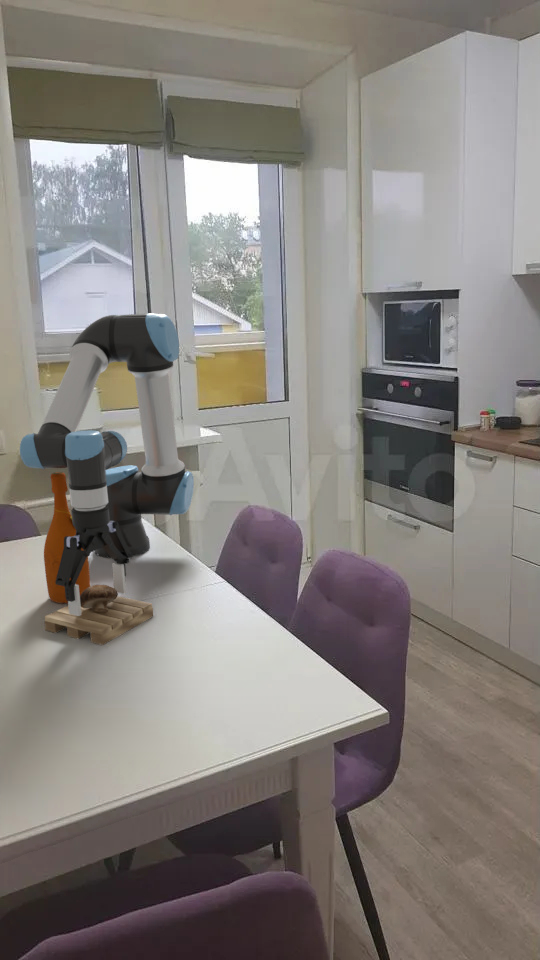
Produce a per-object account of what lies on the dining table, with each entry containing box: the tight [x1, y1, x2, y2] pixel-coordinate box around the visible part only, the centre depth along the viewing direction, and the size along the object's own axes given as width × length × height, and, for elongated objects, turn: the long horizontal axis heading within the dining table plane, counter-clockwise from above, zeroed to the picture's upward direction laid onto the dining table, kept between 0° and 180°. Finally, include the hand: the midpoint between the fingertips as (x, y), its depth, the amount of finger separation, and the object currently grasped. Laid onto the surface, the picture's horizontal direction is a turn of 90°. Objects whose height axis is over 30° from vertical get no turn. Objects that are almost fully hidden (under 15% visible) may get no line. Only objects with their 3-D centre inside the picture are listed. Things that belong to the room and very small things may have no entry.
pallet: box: [44, 595, 154, 646], centre depth 159 cm, size 16×16×3 cm
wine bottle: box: [43, 471, 91, 604], centre depth 171 cm, size 10×10×30 cm
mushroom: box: [80, 584, 119, 612], centre depth 157 cm, size 8×8×6 cm
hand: (98, 603), depth 158 cm, fingers open, 13 cm apart
